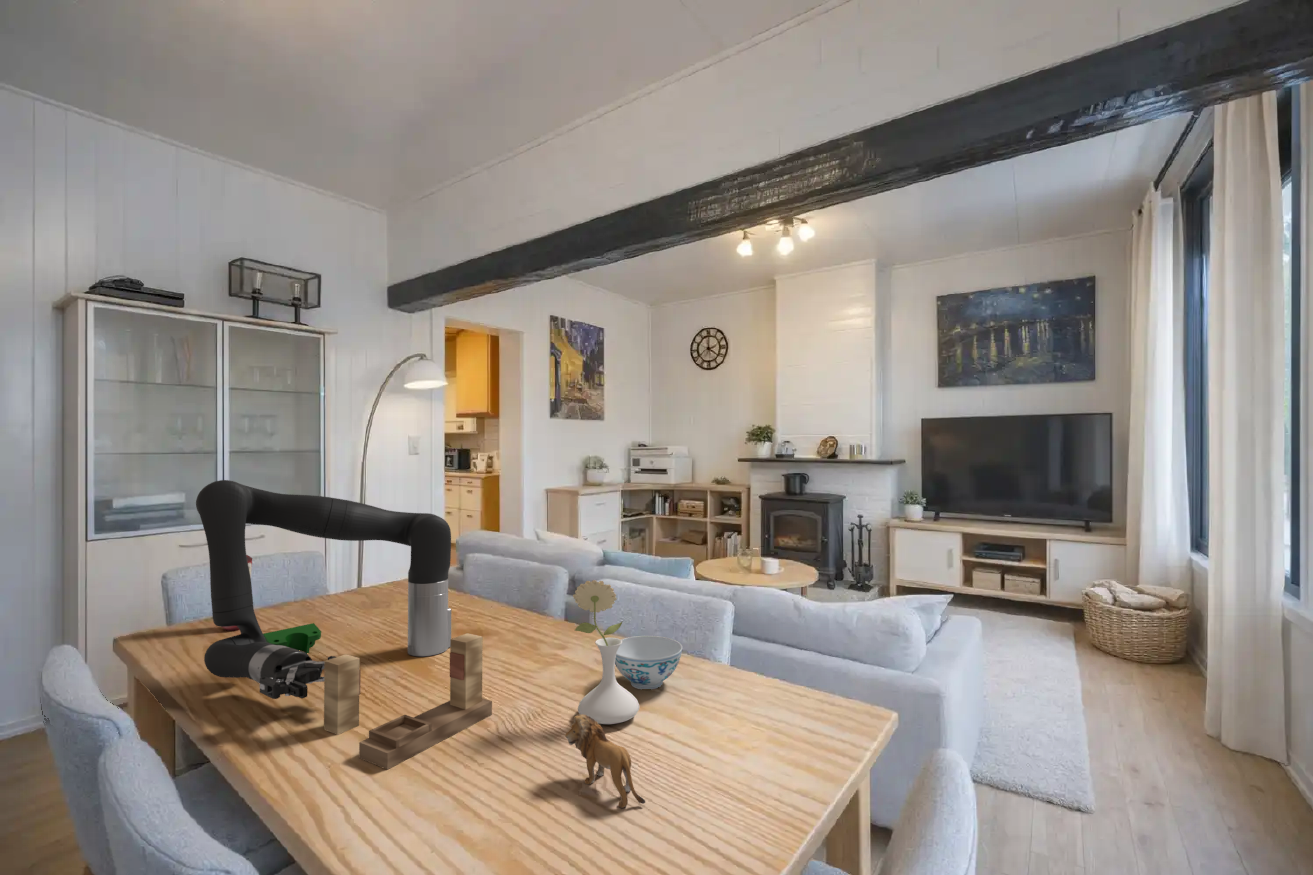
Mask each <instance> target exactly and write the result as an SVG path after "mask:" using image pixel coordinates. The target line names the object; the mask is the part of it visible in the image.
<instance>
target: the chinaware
mask: <svg viewBox="0 0 1313 875" xmlns="http://www.w3.org/2000/svg"><path fill="white" fill-rule="evenodd" d="M620 640H622V644H621V645H620V646H619V648H618V651H617V654H616V659H615V668H617V670H618V671H619V673H620V674H621V675H622V676H623V677H624V678H625V679H626V680H628V681H629V682H630V684H631V687H633V688H635V689H638V690H642V689H651V690H656V689H658V687H659V688H660V687H662V686H663V684H664V683H663V682H664V681H665V680H666V679H668V678H669V677H670V676H671V675H673V673H674V672H675V671H676V669H677V667H678V665H679V662H680V660H681V658H682V652H683V645H682V644H681V642H679V641H677V640H675V639H674V638H673V639H672V638H670V637H667V636H666V637H664V636H658V635H639V636H638V635H637V636H636V635H635V636H629V637H625V638H622V639H620ZM661 685H662V686H661Z"/></svg>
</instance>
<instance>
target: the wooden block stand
mask: <svg viewBox="0 0 1313 875" xmlns="http://www.w3.org/2000/svg"><path fill="white" fill-rule="evenodd" d="M449 649H450V650H449V651H450V652H449V678H450V679H449V680H450V682H449V683H450V684H449V686H450V687H449V688H450V689H449V691H450V692H449V700H448V701H446V702H444V703H441V704H440V705H438V706H435V707H433V708H431V709H428V710H426V711H424V712H422V713H420V714H417V715H415V716H410V715H407V714H403V715H401V716H399V717H397V718H394V719H392V720H390V721H387V722H385V723H382V724H381V725H378V726H376V727H374V728H372V729H370V730H368V737H367V738H365V739H364V740H361V741H359V742H358V744H359V745H358V746H359V749H358V750H359V752H358V753H359V754H358V755H359V756H358V757H359V759H361V760H363V761H366V762H368V763H370V764H373V765H376V766H378V767H380V768H383V769H384V770H389V769H391V768H394V767H395V766H398V765H400V764H401V763H402V762H404V761H407V760H409V759H411V758H412V757H414V756H417V755H418V754H420V753H422V752H424V751H426V750H428V749H429V748H431V747H433V746H435V745H437V744H439V743H441V742H443V741H444V740H446V739H449V738H450V737H452V736H454V735H456V734H458V733H460V732H462V731H464V730H465V729H468V728H469V727H471V726H473V725H474V724H477V723H479V722H481V721H482V720H484V719H486V718H488V717H490V716H491V715H493V700H490V699H486V698H483V635H482V636H481V635H477V634H472V633H467V632H466V633H464V634H461V635H458V636H455V637H453V638H452V637H451V639H450V647H449Z"/></svg>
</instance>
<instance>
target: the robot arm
mask: <svg viewBox="0 0 1313 875" xmlns="http://www.w3.org/2000/svg"><path fill="white" fill-rule="evenodd" d="M195 508H196V511H197V513H198V515H199V516H200V520H201V524H202V526H203V530H204V534H205V538H206V539H205V540H206V542H207V543H206V544H207V548H208V550H207V551H208V557H209V576H210V577H209V580H210V582H209V583H210V599H211V600H210V601H211V612H212V613H211V614H212V615H211V616H212V620H213V623H214V625H215V626H216V627H220V628H222V627H228V626H237V627H238V628H239V629H240V630H239V632H240V634H237V635H233V636H230V637H226V638H225V637H224V638H222V639H219V640H216V641H215V642H213V643H212V644H210V645H209V646H208V648H206V651H205V653H204V658H203V659H204V660H203V661H204V664H205V667H206V668H207V670H208V671H209V673H211V674H212V675H214V676H217V677H220V678H233V679H234V678H236V679H240V678H248V679H250V680H253V681H254V682H257V683H258V684H259V693H260V694H262V695H264V696H266V697H267V698H270V699H272V700H277V699H279V698H281V696H283V695H284V696H285V697H290V696H293V697H295V698H300V699H305V698H308V691H309V690H308V684H310V685H311V684H314V683H319V682H320V683H321V682H322V683H323V682H324V676H322V673H323V670H324V664H325V661H326V660H329V659H333V658H336V657H337V656H334V655H330V656H327V659H326V660H323V661H316V660H313V659H312V658H311V656H310V655H309V654H307V653H305V652H304V651H299V650H296V649H293V648H289V647H286V646H282V645H274V644H271V643H267V642H266V640H265V637H264V635H263V634H264V633H263V631H262V629H261V626H260V625H259V622H258V618H257V616H256V614H255V610H254V609H255V608H254V597H253V588H252V587H253V586H252V577H251V578H250V572H249V567H248V562H247V556H246V555H247V549H246V525H258V526H259V525H261V526H270V527H275V528H279V529H283V530H285V531H286V530H287V531H290V532H293V533H297V534H301V535H306V536H311V537H316V538H322V539H328V540H329V539H330V540H337V541H348V542H350V541H351V542H352V541H354V542H355V541H356V542H357V541H358V542H359V541H362V542H363V541H384V542H391V543H396V544H401V545H405V546H408V547H410V565H409V569H408V572H407V583H408V584H407V593H408V594H407V654H408V655H409V656H413V657H429V656H435V655H438V654H439V655H440V654H441V653H444V652H446V651H447V650H448V649H450V639H452V609H451V607H449V573H450V572H449V571H450V567H451V561H452V559H451V558H452V556H451V555H452V532H451V527H450V525H449V523H448V522H447V521H446V519H444V518H443V517H441V516H439V515H436V514H434V513H428V512H427V513H426V512H423V513H421V512H407V511H393V510H390V509H388V510H387V509H384V508H381V507H378V506H374V505H369V504H365V503H362V502H359V501H358V502H357V501H354V500H353V501H352V500H349V499H342V498H337V497H331V496H321V495H312V494H311V495H310V494H289V493H288V494H287V493H280V492H274V491H268V490H263V489H259V488H256V487H251V486H250V485H249V486H248V485H245V484H242V483H239V482H236V481H234V480H228V479H226V480H225V479H221V480H220V479H219V480H216V481H212V482H209V483H208V484H206V485H205V486H204V487H203V488H202V489H201V490H200V491H199V493H198V494H197V497H196V500H195Z"/></svg>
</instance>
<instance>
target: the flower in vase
mask: <svg viewBox="0 0 1313 875" xmlns="http://www.w3.org/2000/svg"><path fill="white" fill-rule="evenodd" d="M572 597H573V599H574V602H575V603H576V604H577V607H579V608H580V609H582V610H584V611H588V610H589V611H588V612H590V613H593V623H594V624H592V623H590V622H587V621H586V622H581V623H579V624H578V625H577V626H576V628H574V631H576V632H582V633H585V634H592V633H593V632H594V631H595V630H597V632H598V633H599V635H600V637H602V638H598V639H597V640H595V642H594V643H595V645H596V646H597V648H598V650H599V653H600V655H601V661H602V662H601V663H602V675H601V676H602V677H601V680H600V682H599V683H598V685H596V687H595V688H593V689H592V690H590V691H589V692H588V693H587V694H586V695H585V696H583V698H582V699H581V700H580V701H579V704H578V707H577V712H578V715H582V714H583V715H587V716H590V717H591V718H592V719H594V720H595V721H597V722H598V724H599V725H615V724H620V723H623V722H627V721H629V720H631V719H632V718H635V716H636V715H637V713H638V712H639V711H640V704H639V701H638V699H637V698H636V697H635V696H634V695H633V693H631V692H630V691H628V690H627V689H626V688H624V686H622V685H620V684H619V683H618V681H617V678H616V672H615V671H616V670H615V668H616V665H615V659H616V654H617V651H618V648H619V646H620V645H621V644H622V640H621V639H620V638H618V637H605V636H608V635H612V634H614V633H615V632H617V631H619V629H620V628H621V626H622V624H623V621H621V622H619V623H616V624H612V625H610V626H608V627H607V628H606V630H605V631H604V633H602V631H601V630H600V628H599V626H598V625H597V620H596V616H597V613H601V612H605V611H607V610H609V609H612V608H613V605H614V604H615V601H617V599H618V598H617V594H616V593H615V590H614V588H613V587H612V585H611V584H605V583H604V580H598V581H597V580H596V579H593V580H592V581H590V580H586V581H585V583H580V584H579V585H578V586H577V587H576V589H575V591H574V594H573V595H572Z"/></svg>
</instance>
